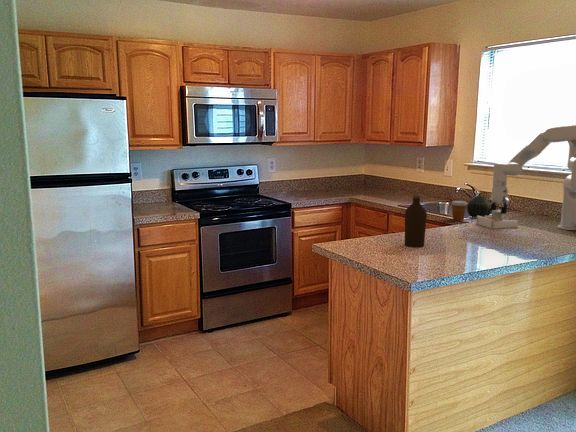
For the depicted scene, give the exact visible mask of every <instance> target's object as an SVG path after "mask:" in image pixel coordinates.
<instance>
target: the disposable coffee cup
mask: <svg viewBox="0 0 576 432" xmlns="http://www.w3.org/2000/svg"><path fill="white" fill-rule="evenodd" d="M451 201H452V202H451V203H450V204H451V206H452V207H451V208H452V220H453V221H456V222H462V221H464V218H465V215H466V214H465V213H466V209H467V206H468V203H467V201H465V200H451Z"/></svg>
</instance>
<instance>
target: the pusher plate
mask: <svg viewBox="0 0 576 432" xmlns="http://www.w3.org/2000/svg"><path fill="white" fill-rule="evenodd" d="M484 217H485V218H489V219H493V220H494V221H499V219H498V218H494V217H492V216H490V215H489V216H484Z"/></svg>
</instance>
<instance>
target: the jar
mask: <svg viewBox="0 0 576 432" xmlns="http://www.w3.org/2000/svg"><path fill="white" fill-rule="evenodd" d="M503 216H504V215H503V214H501V209H496V210H492V211H491V217H494V218H498V219H499V221H503Z"/></svg>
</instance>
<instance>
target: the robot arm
mask: <svg viewBox="0 0 576 432" xmlns="http://www.w3.org/2000/svg"><path fill="white" fill-rule="evenodd" d="M561 142H562V143H563V142H568V145H569V146H568V147H569V148H568V149H569V150H568V156H567V157H568V159H567V169H568V170H570V172H571V174H569V175H568V176H566V177H565V178H564V180H563V184H562V185H563V188H562V189H563V196H562V208H561V217H560V224H558V225H557V228H558V229H561V230H565V231H566V230H567V231H576V124H567V125H566V124H565V125H564V126H563V125H561V126H552V127H551V126H549V127H544V128H543V129H542V130H540V131H539V132H538V133H537V135H535V137H534V138H532V140H531V141H530V142H529V143H528V144H527V145H526V146H525V147H524V148H522V149H521V150H520V151H519V152H518V153H516V155H514V157H513V158H511V159H510V160H509V161H508V163H506V162H505V163H504V162H496V163H494V164H493V170H492V171H493V176H492V187H491V188H492V189H491V195H490V196H489V202H490V204H491V212H492V210H497V204H500V205H501V207H500V208H501V209H500V210H501V214H507V210H508V206H509V203H510V199H509V191H508V186H507V182H508V176H511V177H514V176H516V177H517V176H519V175H521V174H522V172H523V166H524V165H525V164H526V163H528V162H529V161H530V160H533V159H535V158H536V157H538V156H540V154H541V153H543V151H544V150H545V149H547V147H548V146H549V145H550V144H551V143H561Z"/></svg>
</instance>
